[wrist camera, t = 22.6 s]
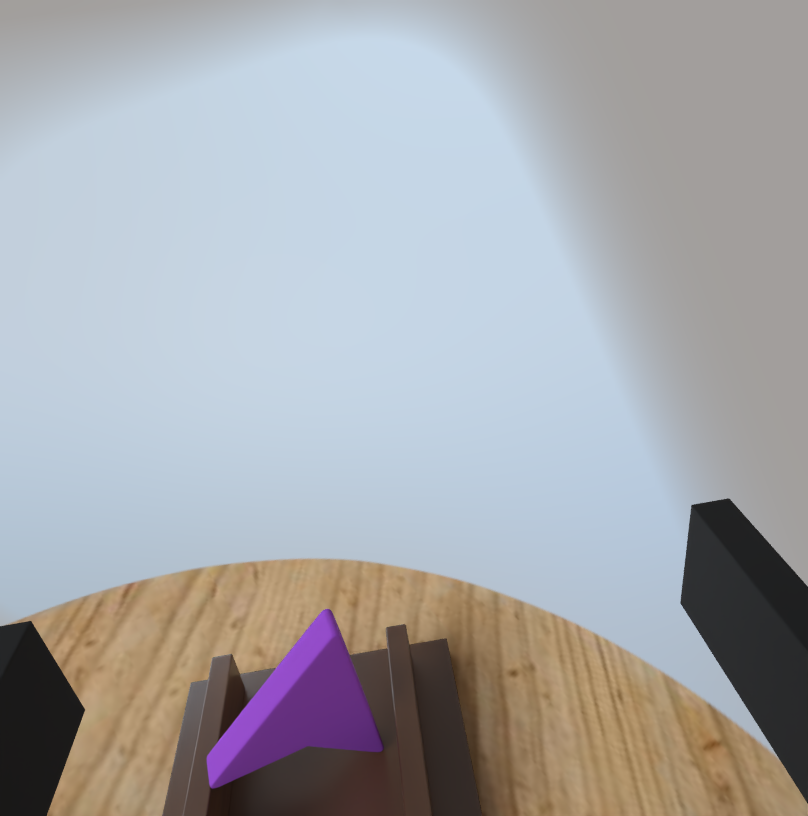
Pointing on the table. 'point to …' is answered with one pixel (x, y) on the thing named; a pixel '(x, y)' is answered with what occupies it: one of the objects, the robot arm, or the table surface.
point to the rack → (338, 768)
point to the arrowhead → (299, 708)
